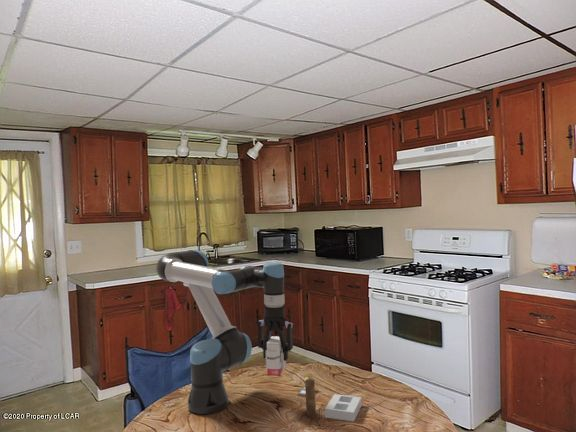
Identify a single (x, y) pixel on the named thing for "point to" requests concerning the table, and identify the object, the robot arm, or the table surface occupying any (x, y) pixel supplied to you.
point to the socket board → (343, 407)
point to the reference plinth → (303, 389)
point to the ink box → (274, 356)
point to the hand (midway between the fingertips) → (275, 367)
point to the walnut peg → (310, 398)
